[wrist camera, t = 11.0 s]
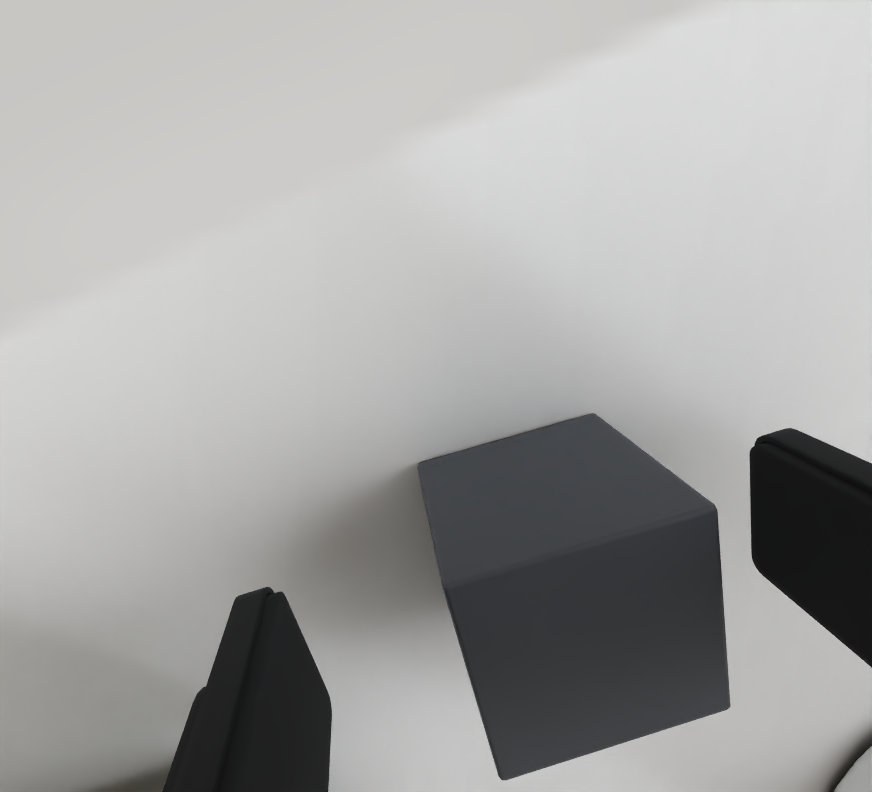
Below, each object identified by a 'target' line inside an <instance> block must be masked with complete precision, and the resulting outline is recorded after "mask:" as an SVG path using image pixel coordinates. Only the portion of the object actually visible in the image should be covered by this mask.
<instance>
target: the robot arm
mask: <svg viewBox="0 0 872 792" xmlns="http://www.w3.org/2000/svg"><path fill="white" fill-rule="evenodd" d="M750 496H751V549H752V559H753V562H754V564H755V566H756V568H757V569H758V571H759V572H760V573H761V574H762V575H763V576H764V577H765V578H766V579H768V580H769V581H770V582H771V583H772V584H774V585H775V586H776V587H777V588H778V589H780V590H781V591H782V592H783V593H784V594H785V595H787V596H788V597H789V598H790V599H791V600H793V601H794V602H795V603H796V604H797V605H798V606H800V607H801V608H802V609H803V610H804V611H806V612H807V613H808V614H809V615H810V616H812V617H813V618H814V619H815V620H816V621H817V622H819V623H820V624H821V625H822V626H823V627H825V628H826V629H827V630H828V631H829V632H830V633H832V634H833V635H834V636H835V637H836V638H838V639H839V640H840V641H841V642H842V643H844V644H845V645H846V646H847V647H848V648H849V649H851V650H852V651H853V652H854V653H855V654H857V655H858V656H859V657H860V658H861V659H862V660H864V661H865V662H866V663H867V664H868V665H870V666H871V667H872V464H871V463H869V462H867V461H865V460H862V459H860V458H858V457H856V456H854V455H851V454H849V453H847V452H845V451H842V450H840V449H838V448H836V447H833V446H831V445H829V444H827V443H825V442H822V441H820V440H818V439H816V438H813V437H811V436H809V435H807V434H805V433H802V432H800V431H798V430H795V429H792V428H788V429H783V430H780V431H776V432H773V433H770V434H767V435H763V436H761V437H759V438H757V440H756V442H755V446H754V447H752V448H751V450H750ZM331 722H332V709H331V701H330V697H329V694H328V691H327V689H326V686H325V684H324V682H323V680H322V677H321V675H320V673H319V671H318V668H317V666H316V664H315V662H314V659H313V657H312V655H311V653H310V650H309V648H308V646H307V644H306V641H305V639H304V637H303V635H302V632H301V630H300V628H299V626H298V623H297V621H296V619H295V617H294V614H293V612H292V610H291V608H290V605H289V603H288V601H287V599H286V597H285V595H284V593H283V592H277V593H274V591H273V590H272V589H271V588H270V587H266V588H262V589H259V590H256V591H252V592H249V593H246V594H243V595H239V596H238V597H236V599H235V601H234V603H233V606H232V609H231V612H230V615H229V618H228V621H227V624H226V627H225V631H224V634H223V637H222V640H221V643H220V646H219V649H218V652H217V655H216V658H215V661H214V664H213V667H212V670H211V673H210V676H209V679H208V682H207V685H206V687H203V688H202V689H201V690H200V691H199V692H198V693H197V695H196V697H195V700H194V702H193V704H192V707H191V710H190V713H189V716H188V719H187V722H186V725H185V727H184V730H183V733H182V736H181V739H180V742H179V745H178V748H177V751H176V754H175V756H174V759H173V762H172V765H171V768H170V771H169V774H168V777H167V780H166V783H165V785H164V788H163V791H162V792H328V783H329V762H330V742H331ZM834 792H872V746H871V747H870V748H869V749H868V750H867V751H866V752H865V753H864V754H863V755H862V756H861V757H860V758H859V759H858V760H857V761H856V762H855V763H854V765H853V766H852V767H851V768H850V770H849V771H848V772H847V774H846V775H845V776H844V778H843V779H842V780H841V781H840V783H839V784H838V785H837V787H836V789H835V790H834Z"/></svg>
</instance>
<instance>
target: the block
mask: <svg viewBox="0 0 872 792" xmlns="http://www.w3.org/2000/svg"><path fill="white" fill-rule="evenodd" d="M417 469H418V474H419V478H420V483H421V488H422V492H423V497H424V502H425V507H426V511H427V516H428V521H429V525H430V530H431V535H432V539H433V544H434V549H435V553H436V558H437V563H438V568H439V572H440V577H441V582H442V586H443V590H444V594H445V597H446V601H447V604H448V607H449V611H450V614H451V617H452V621H453V624H454V627H455V631H456V634H457V638H458V641H459V644H460V648H461V651H462V654H463V658H464V661H465V664H466V668H467V671H468V675H469V678H470V681H471V685H472V688H473V691H474V695H475V698H476V701H477V705H478V708H479V711H480V715H481V718H482V722H483V725H484V728H485V732H486V735H487V738H488V742H489V745H490V748H491V752H492V755H493V759H494V762H495V765H496V769H497V772H498V775H499V777H500V778H501V780H508V779H511V778H514V777H518V776H521V775H524V774H527V773H530V772H533V771H536V770H540V769H543V768H546V767H549V766H552V765H555V764H558V763H561V762H565V761H568V760H571V759H574V758H577V757H580V756H583V755H587V754H590V753H593V752H596V751H599V750H602V749H605V748H608V747H612V746H615V745H618V744H621V743H624V742H627V741H630V740H634V739H637V738H640V737H643V736H646V735H649V734H652V733H655V732H659V731H662V730H665V729H668V728H671V727H674V726H677V725H681V724H684V723H687V722H690V721H693V720H696V719H699V718H702V717H706V716H709V715H712V714H715V713H718V712H721V711H724V710H727V709H728V708H729V707H730V695H729V680H728V665H727V650H726V635H725V619H724V604H723V589H722V574H721V559H720V544H719V529H718V514H717V509H716V507H715V505H714V504H713V503H711V502H710V501H709V500H708V499H706V498H705V497H704V496H702V495H701V494H700V493H698V492H697V491H696V490H694V489H693V488H692V487H690V486H689V485H688V484H687V483H685V482H684V481H683V480H681V479H680V478H679V477H677V476H676V475H675V474H673V473H672V472H671V471H669V470H668V469H667V468H665V467H664V466H663V465H662V464H660V463H659V462H658V461H656V460H655V459H654V458H652V457H651V456H650V455H648V454H647V453H646V452H644V451H643V450H642V449H641V448H639V447H638V446H637V445H635V444H634V443H633V442H631V441H630V440H629V439H627V438H626V437H625V436H623V435H622V434H621V433H619V432H618V431H617V430H616V429H614V428H613V427H612V426H610V425H609V424H608V423H606V422H605V421H604V420H602V419H601V418H600V417H598V416H597V415H596V414H589V415H586V416H582V417H579V418H575V419H572V420H568V421H564V422H561V423H557V424H554V425H550V426H547V427H543V428H540V429H536V430H533V431H529V432H526V433H522V434H519V435H515V436H512V437H508V438H505V439H501V440H498V441H494V442H491V443H487V444H484V445H480V446H477V447H473V448H470V449H466V450H463V451H459V452H456V453H452V454H449V455H445V456H442V457H438V458H435V459H431V460H428V461H424V462H421V463H419V464H418V465H417Z"/></svg>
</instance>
